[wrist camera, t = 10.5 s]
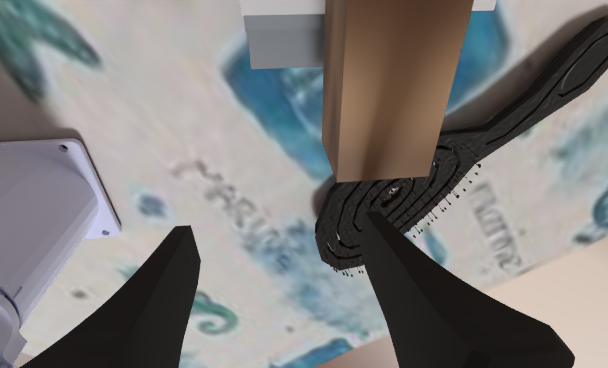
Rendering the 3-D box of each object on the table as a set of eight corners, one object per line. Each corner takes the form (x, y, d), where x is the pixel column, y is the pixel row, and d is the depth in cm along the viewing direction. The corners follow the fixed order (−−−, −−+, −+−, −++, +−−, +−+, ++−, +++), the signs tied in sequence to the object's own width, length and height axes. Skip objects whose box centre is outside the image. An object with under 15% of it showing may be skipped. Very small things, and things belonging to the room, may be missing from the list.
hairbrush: (678, 78, 19) (361, 296, 25) (617, 66, 22) (349, 263, 28) (660, -48, 15) (293, 248, 21) (590, -40, 18) (288, 216, 25)
